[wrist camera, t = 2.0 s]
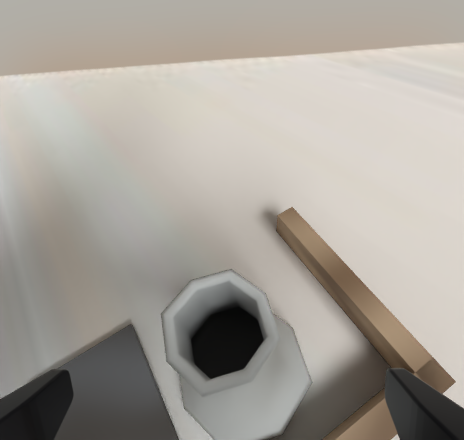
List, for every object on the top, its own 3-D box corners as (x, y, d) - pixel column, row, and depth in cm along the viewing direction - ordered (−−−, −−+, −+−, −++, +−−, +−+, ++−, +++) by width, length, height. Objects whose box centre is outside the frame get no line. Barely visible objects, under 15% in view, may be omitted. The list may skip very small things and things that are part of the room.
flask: (157, 347, 17) (56, 292, 9) (256, 280, 19) (251, 181, 10) (220, 485, 14) (151, 612, 5) (336, 388, 15) (424, 368, 7)
